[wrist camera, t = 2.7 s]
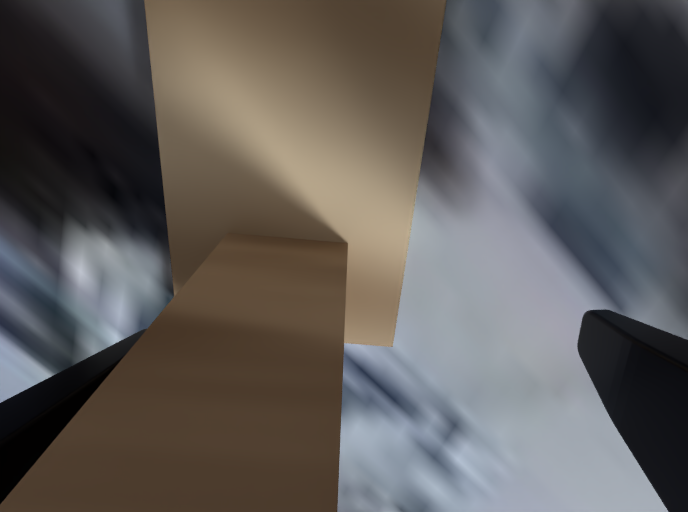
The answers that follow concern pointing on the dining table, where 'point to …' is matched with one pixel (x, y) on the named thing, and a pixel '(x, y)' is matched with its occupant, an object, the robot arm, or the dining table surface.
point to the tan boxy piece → (258, 256)
